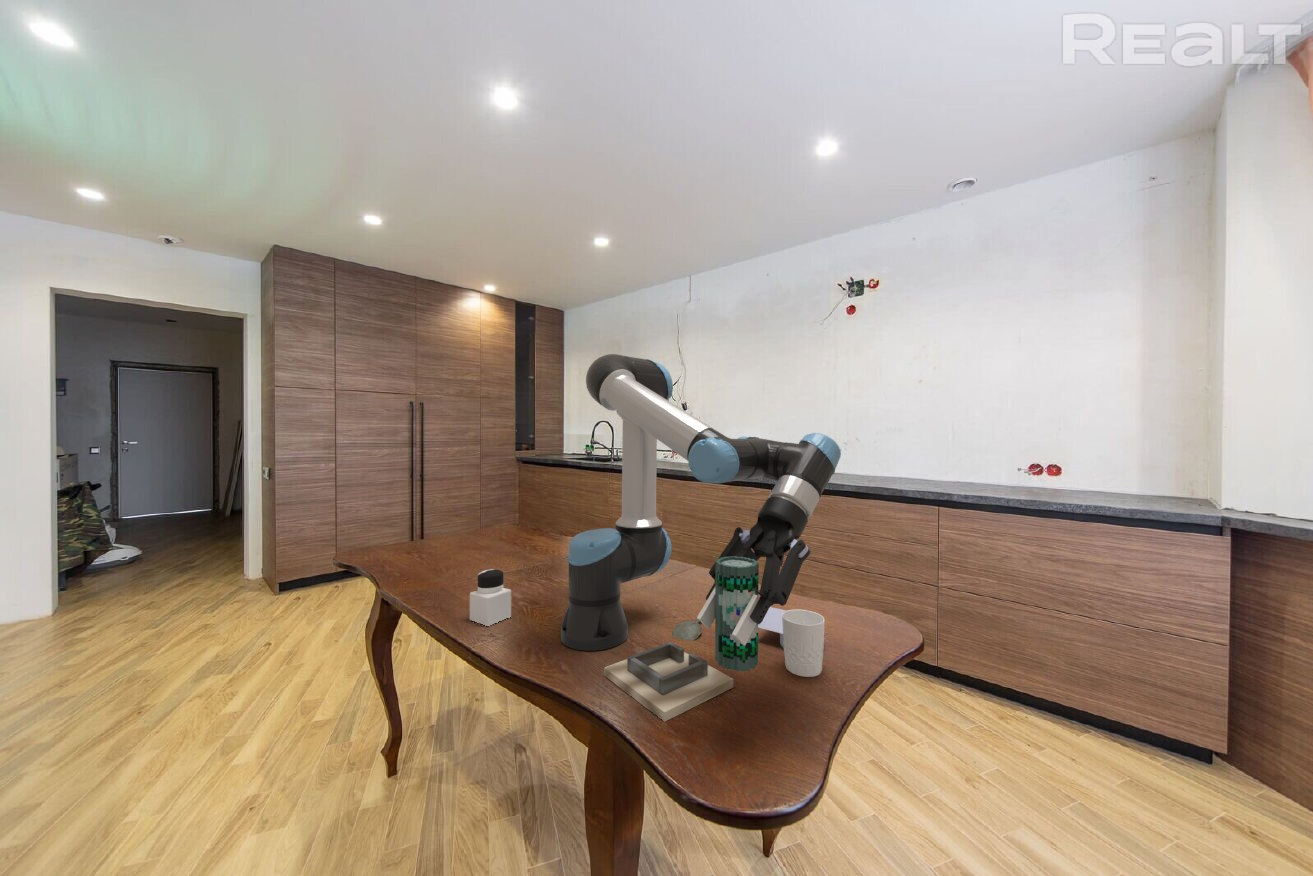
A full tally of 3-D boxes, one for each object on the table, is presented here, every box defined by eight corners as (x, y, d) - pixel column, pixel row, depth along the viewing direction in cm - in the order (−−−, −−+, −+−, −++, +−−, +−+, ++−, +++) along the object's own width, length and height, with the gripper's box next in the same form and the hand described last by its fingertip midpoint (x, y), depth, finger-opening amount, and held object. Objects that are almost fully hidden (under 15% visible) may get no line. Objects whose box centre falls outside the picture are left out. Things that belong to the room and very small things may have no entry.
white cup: (820, 683, 81) (819, 628, 82) (777, 672, 86) (776, 619, 86) (828, 665, 88) (828, 614, 88) (788, 655, 92) (788, 606, 92)
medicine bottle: (511, 617, 113) (511, 570, 113) (487, 627, 107) (487, 577, 107) (493, 612, 116) (493, 565, 117) (469, 621, 110) (469, 572, 111)
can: (723, 672, 64) (724, 568, 64) (711, 652, 70) (711, 557, 70) (763, 669, 65) (764, 566, 65) (748, 650, 71) (748, 555, 71)
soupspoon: (667, 641, 101) (693, 649, 98) (667, 627, 101) (693, 634, 98) (707, 607, 120) (730, 613, 117) (707, 594, 120) (730, 600, 117)
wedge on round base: (756, 642, 98) (816, 659, 91) (756, 611, 99) (815, 625, 91) (772, 628, 106) (829, 643, 98) (772, 600, 106) (828, 612, 98)
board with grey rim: (604, 675, 85) (604, 654, 85) (669, 650, 94) (669, 631, 94) (664, 722, 70) (664, 696, 70) (733, 687, 80) (733, 664, 80)
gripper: (850, 532, 70) (787, 670, 60) (752, 515, 85) (688, 623, 75) (832, 501, 66) (761, 642, 56) (733, 489, 82) (664, 598, 72)
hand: (720, 631), depth 66 cm, fingers closed on can, 6 cm apart
